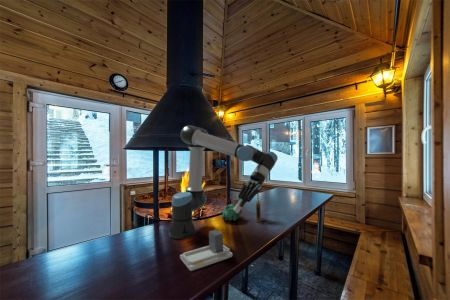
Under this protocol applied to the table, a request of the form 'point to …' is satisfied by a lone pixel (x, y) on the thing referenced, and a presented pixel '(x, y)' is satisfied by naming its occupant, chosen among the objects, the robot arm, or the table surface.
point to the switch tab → (215, 241)
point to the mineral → (230, 213)
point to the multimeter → (258, 211)
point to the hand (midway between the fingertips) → (235, 211)
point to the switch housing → (204, 257)
